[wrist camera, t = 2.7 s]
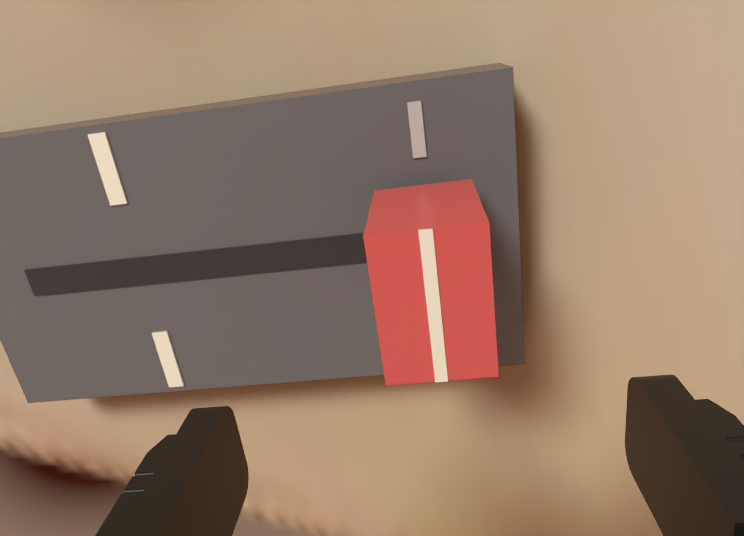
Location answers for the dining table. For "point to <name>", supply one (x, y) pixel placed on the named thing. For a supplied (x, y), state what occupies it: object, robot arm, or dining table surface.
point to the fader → (432, 283)
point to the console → (236, 233)
